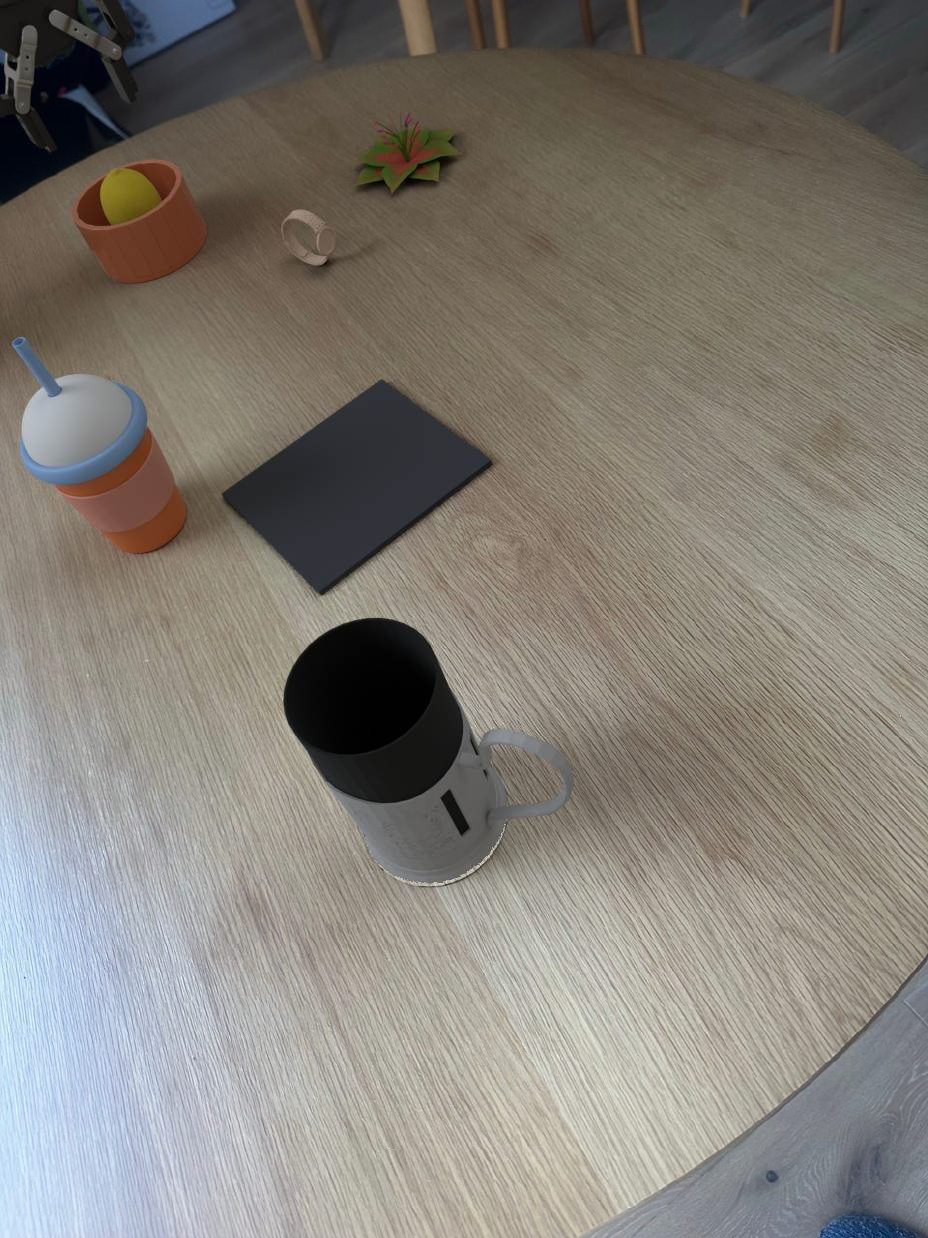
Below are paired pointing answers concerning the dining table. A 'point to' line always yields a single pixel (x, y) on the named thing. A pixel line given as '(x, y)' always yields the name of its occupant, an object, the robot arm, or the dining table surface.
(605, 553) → the dining table surface
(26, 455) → the cup with straw
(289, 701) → the gray and black mug
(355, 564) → the mat
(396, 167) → the lily flower
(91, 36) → the robot arm
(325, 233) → the wristwatch
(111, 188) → the lemon
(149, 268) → the cup
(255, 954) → the dining table surface
